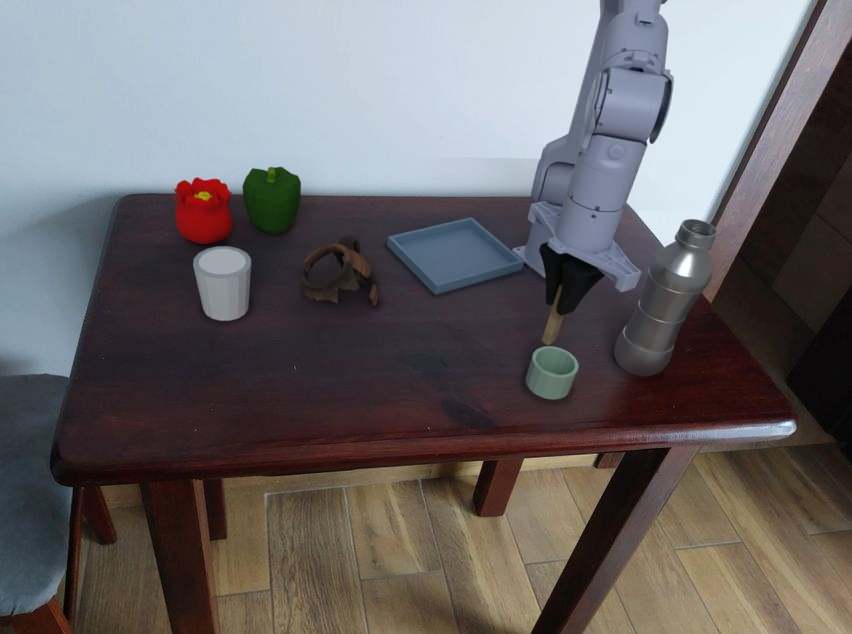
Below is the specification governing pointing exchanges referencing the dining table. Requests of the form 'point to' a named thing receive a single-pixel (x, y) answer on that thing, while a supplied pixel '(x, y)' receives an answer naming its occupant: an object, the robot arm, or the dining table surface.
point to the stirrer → (553, 322)
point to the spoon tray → (454, 255)
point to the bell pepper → (272, 198)
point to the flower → (203, 210)
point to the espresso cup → (551, 372)
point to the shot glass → (223, 281)
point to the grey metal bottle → (666, 299)
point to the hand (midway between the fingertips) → (559, 306)
